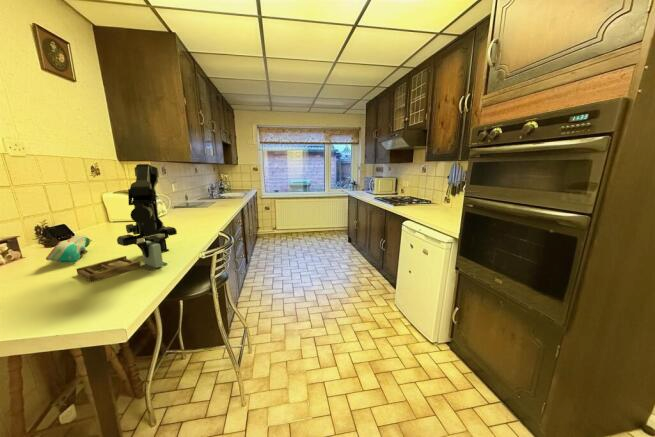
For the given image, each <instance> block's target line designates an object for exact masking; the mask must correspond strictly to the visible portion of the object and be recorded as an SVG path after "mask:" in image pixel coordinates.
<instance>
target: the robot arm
mask: <svg viewBox="0 0 655 437" xmlns="http://www.w3.org/2000/svg"><path fill="white" fill-rule="evenodd" d="M159 172H160V171H159V169H158V167H156V166H153V165H152V164H150V163H138V164H136V166H135V167H134V175H135V177H136V178H135V181H134V182H132V183H131V184H130V187H129V189H128V190H127V191H128V193H127V195H128V206H133V207H134V208H133V209H132V210H131V212H130V218H131V220H133V221H134V222H135V224H133V223H129V224H126V225H125V229H126V230H125V231H126V233H127V234H123V235H120V236H119V235H118V237H117V238H116V243H117V245H120V246H122V247H125V246H126V247H127V246H132V245H136V246H137V247H138V248H139V249H140V251H141V253H142V252H143V254H144V255H145V257H146V258H148V249H147V242H144V241H151V242H154V243H158V244H160V247H161V253H165V252H168V251H170V249H168V246H167V239H169V236H175V235H177V234H178V232H177V229H176V228H175V227H173V226H166V225H164V222H163V221H162V220H161V219H160V217H159V210H158V201H157V192H156V191H157V190H156V186H157V184H158V183H159V178H160V173H159ZM131 233H133V234H131ZM143 254H142V255H143Z"/></svg>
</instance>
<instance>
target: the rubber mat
mask: <svg viewBox="0 0 655 437" xmlns="http://www.w3.org/2000/svg"><path fill="white" fill-rule="evenodd" d="M167 265H168V262H165V261H163V266H161V267H158V268H162V267H165V266H167ZM139 268H141V269H143V270H146V271H152V270H155V269H158V268H155V267H152V266H150V265H147V264H144V263H143V264H140V267H139Z"/></svg>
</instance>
